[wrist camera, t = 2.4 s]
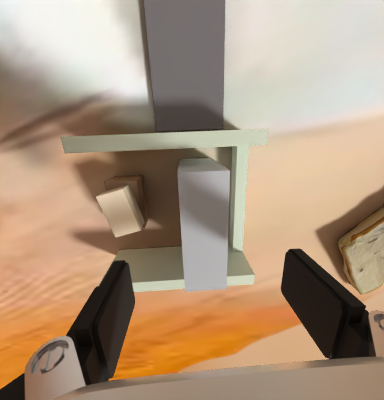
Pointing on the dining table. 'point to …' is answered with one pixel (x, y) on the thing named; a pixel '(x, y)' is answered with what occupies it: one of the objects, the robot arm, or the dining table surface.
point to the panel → (186, 62)
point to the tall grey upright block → (204, 222)
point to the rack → (172, 256)
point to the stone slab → (365, 253)
